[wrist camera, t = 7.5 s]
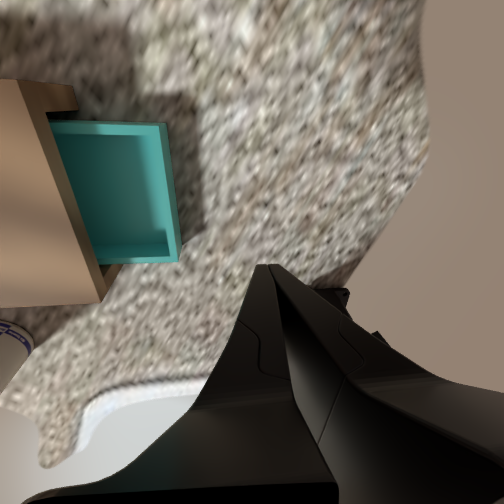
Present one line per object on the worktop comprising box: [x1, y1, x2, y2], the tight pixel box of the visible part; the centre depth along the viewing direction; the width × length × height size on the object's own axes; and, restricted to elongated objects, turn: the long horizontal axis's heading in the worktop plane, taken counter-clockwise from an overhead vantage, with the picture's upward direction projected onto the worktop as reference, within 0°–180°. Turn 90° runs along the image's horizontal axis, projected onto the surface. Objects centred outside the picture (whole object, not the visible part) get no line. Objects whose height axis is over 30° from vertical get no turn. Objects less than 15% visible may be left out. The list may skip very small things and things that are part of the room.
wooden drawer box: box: [0, 79, 123, 308], centre depth 15 cm, size 12×9×5 cm
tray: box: [48, 119, 182, 265], centre depth 16 cm, size 9×12×2 cm
